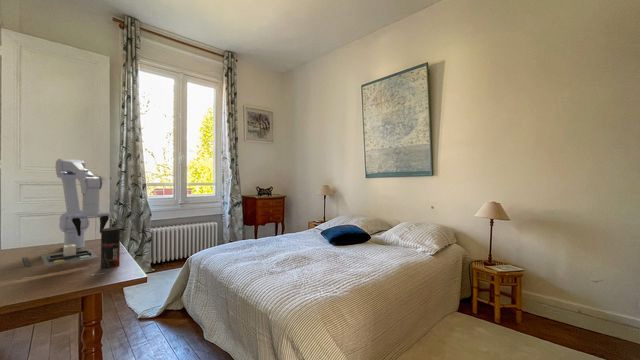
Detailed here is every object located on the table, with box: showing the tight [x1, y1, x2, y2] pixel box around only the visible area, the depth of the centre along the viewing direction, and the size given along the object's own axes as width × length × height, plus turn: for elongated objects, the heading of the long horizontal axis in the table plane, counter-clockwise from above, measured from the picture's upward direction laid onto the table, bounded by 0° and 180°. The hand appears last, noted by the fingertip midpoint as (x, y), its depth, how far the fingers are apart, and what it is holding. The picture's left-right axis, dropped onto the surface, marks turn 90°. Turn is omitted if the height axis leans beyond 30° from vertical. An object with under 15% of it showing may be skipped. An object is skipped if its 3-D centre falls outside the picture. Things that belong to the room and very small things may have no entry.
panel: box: [40, 247, 99, 267], centre depth 117 cm, size 20×16×2 cm
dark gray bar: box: [22, 256, 32, 268], centre depth 108 cm, size 16×1×1 cm, turn 50°
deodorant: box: [100, 227, 121, 270], centre depth 109 cm, size 6×6×15 cm
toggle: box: [62, 244, 77, 257], centre depth 117 cm, size 4×4×5 cm
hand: (90, 234), depth 121 cm, fingers open, 7 cm apart
